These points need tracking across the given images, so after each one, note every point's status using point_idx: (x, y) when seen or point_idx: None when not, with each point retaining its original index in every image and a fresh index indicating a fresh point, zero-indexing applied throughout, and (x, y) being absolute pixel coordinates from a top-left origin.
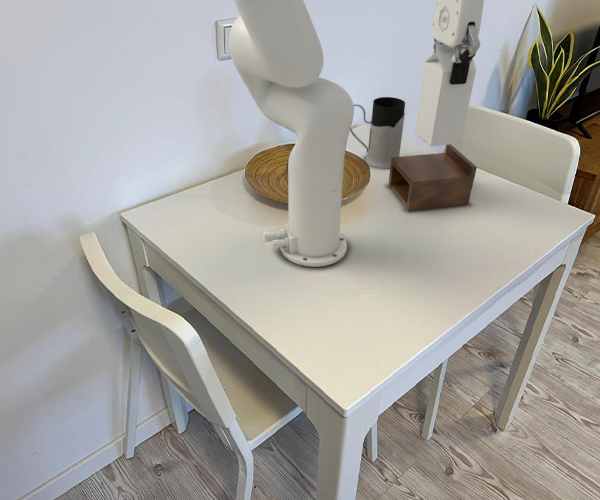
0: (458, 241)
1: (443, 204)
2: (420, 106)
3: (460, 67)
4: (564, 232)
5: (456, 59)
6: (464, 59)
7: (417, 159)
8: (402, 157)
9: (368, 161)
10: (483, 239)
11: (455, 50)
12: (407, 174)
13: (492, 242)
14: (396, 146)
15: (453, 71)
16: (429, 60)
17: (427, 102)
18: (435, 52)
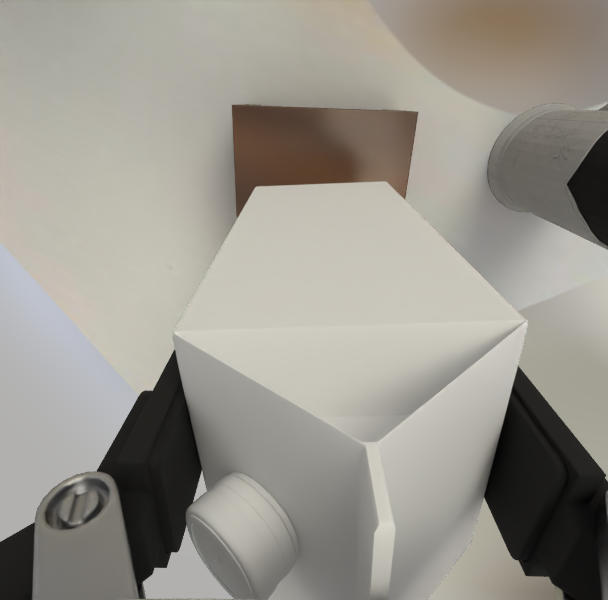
0: (101, 166)
1: None
2: (392, 210)
3: (106, 468)
4: (128, 376)
5: (106, 504)
6: (3, 549)
7: None
8: (404, 151)
9: (550, 106)
10: (108, 225)
11: (115, 597)
12: (285, 111)
13: (96, 237)
14: (523, 191)
15: (150, 406)
16: (496, 357)
17: (333, 224)
18: (398, 429)
